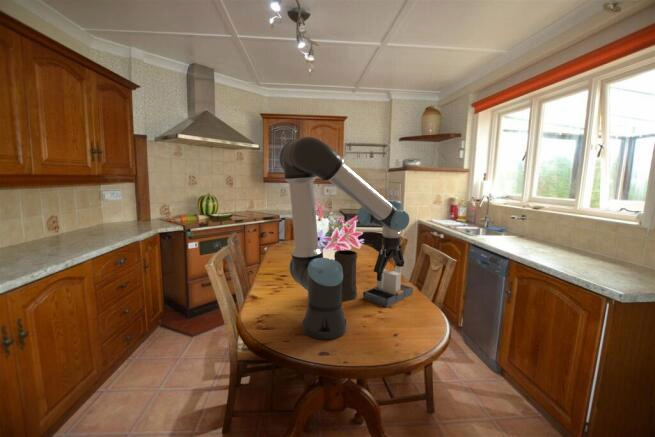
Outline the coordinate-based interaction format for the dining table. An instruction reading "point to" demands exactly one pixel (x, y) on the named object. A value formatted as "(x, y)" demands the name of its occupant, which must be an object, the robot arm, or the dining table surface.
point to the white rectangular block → (391, 281)
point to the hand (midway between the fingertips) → (388, 283)
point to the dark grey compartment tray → (387, 295)
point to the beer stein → (348, 272)
